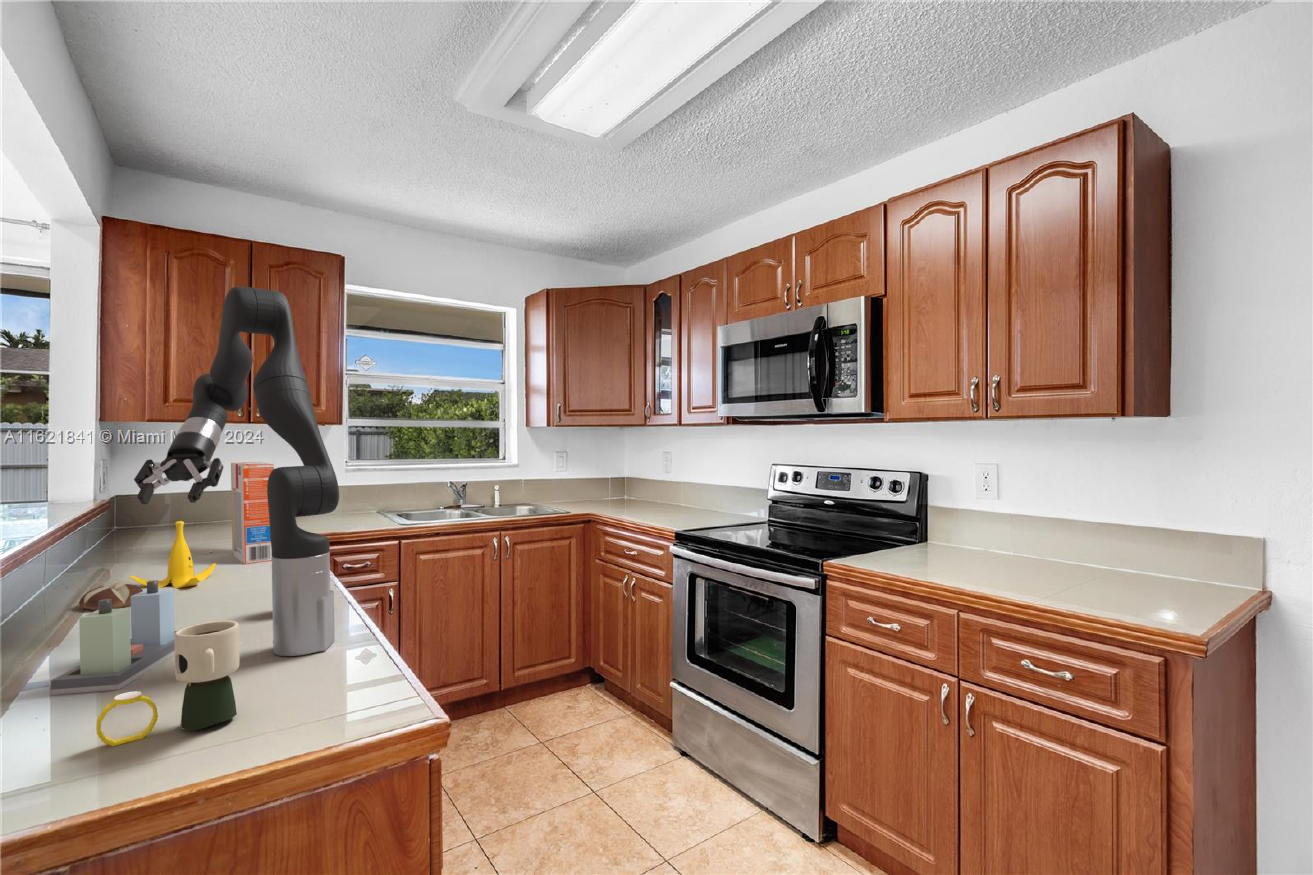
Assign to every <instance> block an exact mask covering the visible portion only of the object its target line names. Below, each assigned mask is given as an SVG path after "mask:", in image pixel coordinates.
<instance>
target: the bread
mask: <svg viewBox="0 0 1313 875" xmlns="http://www.w3.org/2000/svg"><path fill="white" fill-rule="evenodd" d="M143 591H144V590H143V589H142V588H141V586H139V585H137V584H135V583H132V582H128V581H118V582H116V583H114V584H112V585H110V586H104V585H101V586H98V587H96V588H93V589H91V590H88V591H87V592H86V593H85V594H83V595H82V596H81V598H80V600H79V602H78V606H79V607H81V609H84V610H90V611H93V612H94V611H97V610H99V607H98V601H100V600H104V599H112V609H121V608H130V607H131V596H133V595H135V594H138V593H140V592H143Z"/></svg>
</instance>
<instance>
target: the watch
mask: <svg viewBox="0 0 1313 875" xmlns="http://www.w3.org/2000/svg"><path fill="white" fill-rule="evenodd" d="M135 702H143V703H146V704H147V705H148V706H149V707H150V708H152V717H151V719H150V723H149V724H148V725H147V727H145V728H144V729H143V730H142V731H141V732H140V733H137V734H133V735H130V736H126V737H121V738H118V739H113V738H110V737H108V736H106V735H105V734H104V733H103V731H102V722H103V720H104V718H105V717H106V715H107V714H108V712H109V711H111V710H113V709H114V708H115V707H116V706H122V705H123V706H124V705H129V704H133V703H135ZM158 717H159V715H158V708H157V705H156V703H155V702H154V701H153V700H152V699H151V698H150V697H148V696H146V695H143V694H142V692H141V691H129V692H124V693H120V694H117V695H115V696H114V698H113V700H112V702H110V703H108V704H107V705H105V707H104V708H103V709H102V710H101V712H100V714H99V715H98V717H97V719H96V727H95V730H96V731H95V732H96V735H97V737H98V738H99V739H100V741H101V742H102V743H103V744H106V745H108V746H111V747H116V746H119V745H122V744H126V743H130V742H135V741H139V740H143V739H145V737H146V736H148V735H149V733H151V731H153V729H154V727H155V725H156V724H157V721H158Z"/></svg>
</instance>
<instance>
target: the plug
mask: <svg viewBox="0 0 1313 875" xmlns="http://www.w3.org/2000/svg"><path fill="white" fill-rule="evenodd" d="M158 581H159V580H150V581H148V582H147V586H146V590H143V592H140V593H138V594H135V595H133V596H131V606H130V632H131V641H132V645H140V644H143V646H150V645H165V644H167V643H169V642H170V641H172V640H174V634H175V633H174V631H175V598H174V597H175V595H174V594H175V592H174V591H175V590H174V589H175V588H163V589H161V588H160V589H159V588H158Z"/></svg>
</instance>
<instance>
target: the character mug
mask: <svg viewBox="0 0 1313 875" xmlns="http://www.w3.org/2000/svg"><path fill="white" fill-rule="evenodd" d="M239 628H240V625H239V622H237V621H234V620H217V621H208V622H207V621H206V622H202V623H197V624H192V625H190V626H186V627H183V628H181V629H178V630H175V631H176V632H175V634H174V640H175V655H174V677H175V679H176V681H177V682H180V683H187V684H186V686H185V687H184V692H183V693H184V695H183V700H182V706H181V717H180V729H183V730H186V731H195V730H196V731H198V730H201V729H204V728H212V727H213V725H214V726H215V725H218V724H220V723H224V722H225V721H228V720H231V719H233V718H234V717H235V716H237V714H238V713H237V704H236V697H235V694H234V687H233V683H232V679H231V677H230V676H231V674H233V673H235V672H237V671H238V670H239V667H240V629H239Z"/></svg>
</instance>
